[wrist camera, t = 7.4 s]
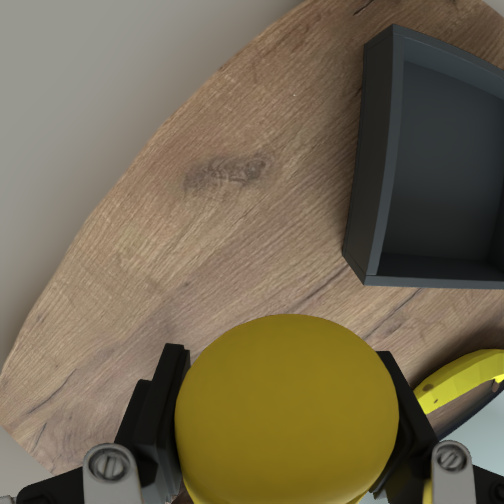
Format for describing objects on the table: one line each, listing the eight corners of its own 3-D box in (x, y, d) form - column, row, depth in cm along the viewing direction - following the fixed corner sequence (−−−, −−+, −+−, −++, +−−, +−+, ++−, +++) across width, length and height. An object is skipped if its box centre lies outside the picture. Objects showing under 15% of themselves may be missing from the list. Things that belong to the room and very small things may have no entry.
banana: (389, 429, 28) (419, 452, 35) (519, 341, 24) (517, 387, 30) (378, 398, 32) (410, 428, 38) (499, 315, 28) (503, 366, 34)
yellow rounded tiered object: (189, 269, 9) (124, 430, 4) (381, 280, 9) (483, 417, 4) (197, 437, 11) (180, 555, 6) (330, 439, 12) (353, 552, 6)
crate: (363, 44, 20) (392, 23, 14) (509, 98, 20) (548, 98, 15) (341, 255, 26) (363, 285, 20) (484, 265, 26) (517, 289, 21)
